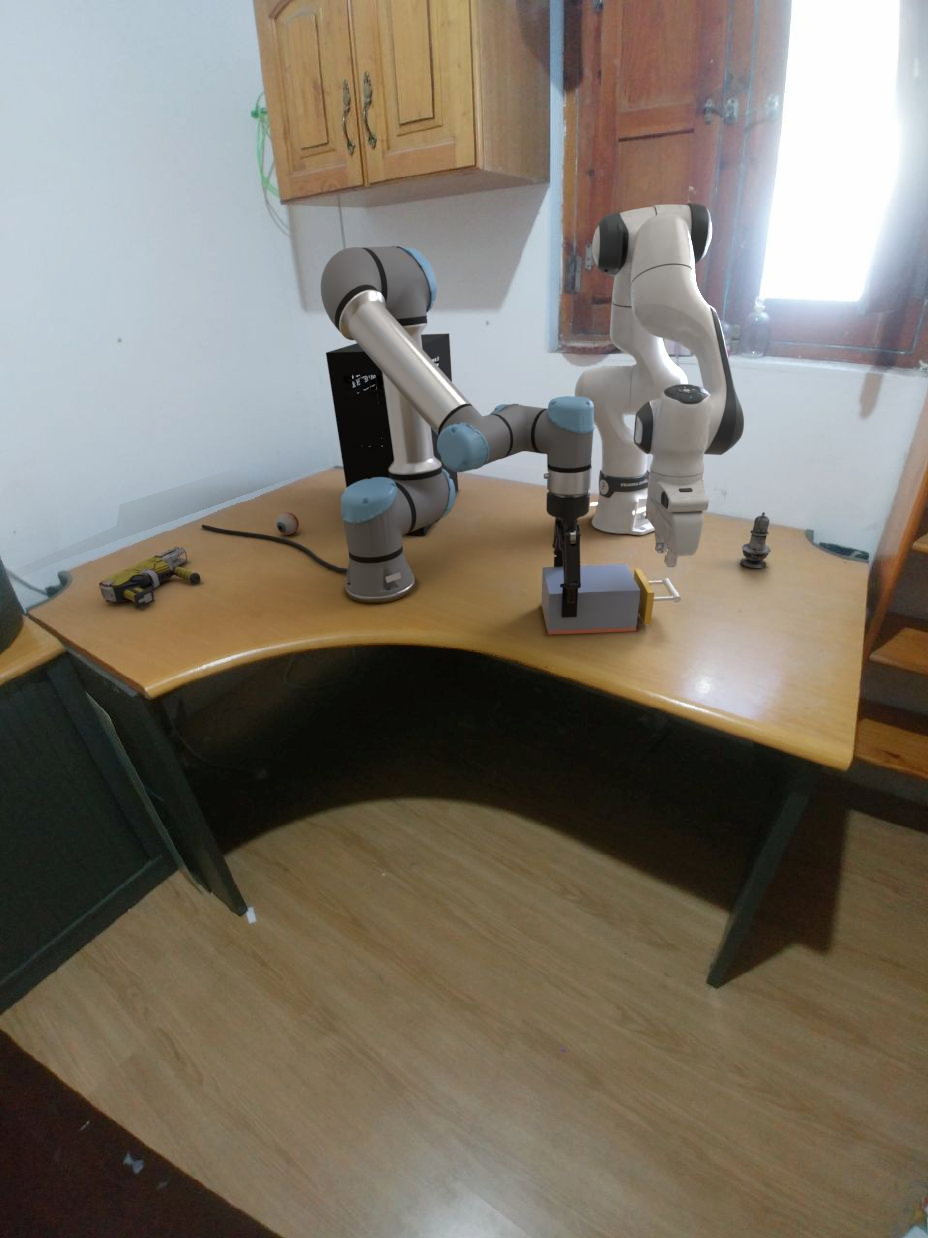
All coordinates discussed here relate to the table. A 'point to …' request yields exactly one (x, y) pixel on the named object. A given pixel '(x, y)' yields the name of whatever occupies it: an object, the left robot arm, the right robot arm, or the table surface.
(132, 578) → the toy gun
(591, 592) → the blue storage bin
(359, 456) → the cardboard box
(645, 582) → the drawer
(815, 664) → the table surface
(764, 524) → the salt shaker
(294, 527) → the eyeball
